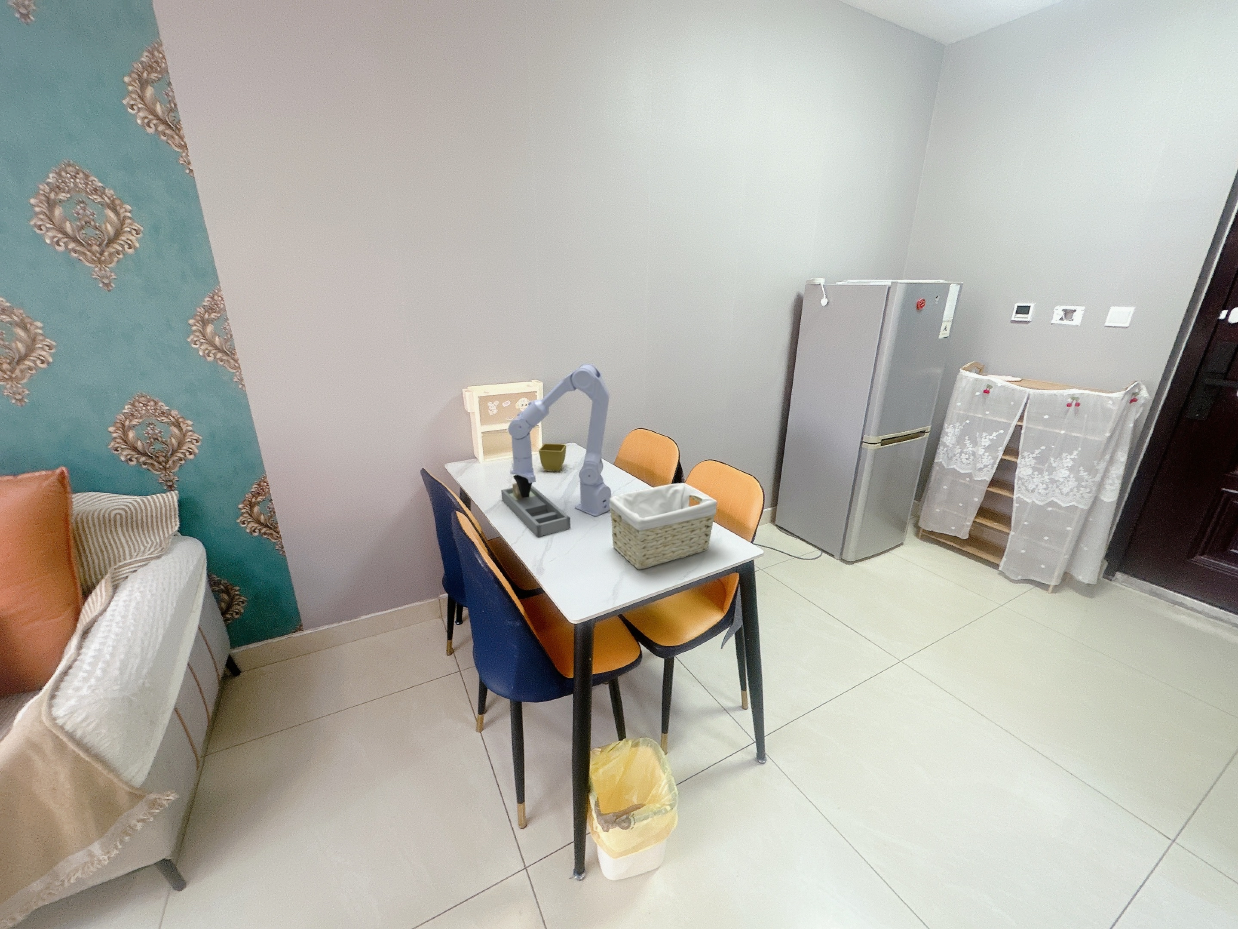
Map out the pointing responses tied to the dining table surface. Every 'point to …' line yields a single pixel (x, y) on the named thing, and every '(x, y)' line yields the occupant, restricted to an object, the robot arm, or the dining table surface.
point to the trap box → (537, 512)
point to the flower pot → (552, 456)
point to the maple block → (517, 491)
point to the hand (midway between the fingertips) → (525, 496)
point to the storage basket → (661, 523)
